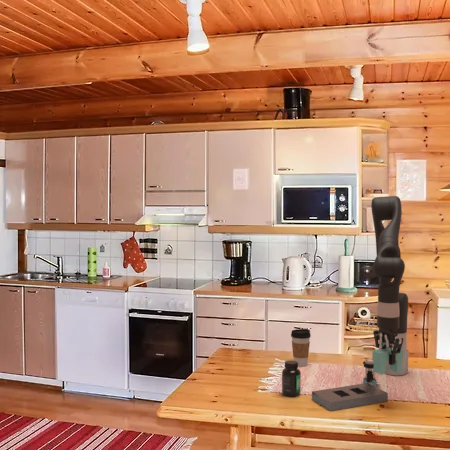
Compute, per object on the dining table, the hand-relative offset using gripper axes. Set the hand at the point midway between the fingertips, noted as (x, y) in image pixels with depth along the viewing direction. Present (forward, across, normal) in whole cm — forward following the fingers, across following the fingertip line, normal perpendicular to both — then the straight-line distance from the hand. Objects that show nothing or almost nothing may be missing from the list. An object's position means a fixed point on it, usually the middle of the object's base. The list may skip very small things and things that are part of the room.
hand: (387, 362), depth 205 cm
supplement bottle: (+15, +22, +26) cm, 37 cm away
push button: (+15, +18, -7) cm, 24 cm away
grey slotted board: (+15, +8, +10) cm, 20 cm away
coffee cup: (+15, +53, +4) cm, 55 cm away
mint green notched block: (+3, 0, 0) cm, 3 cm away
